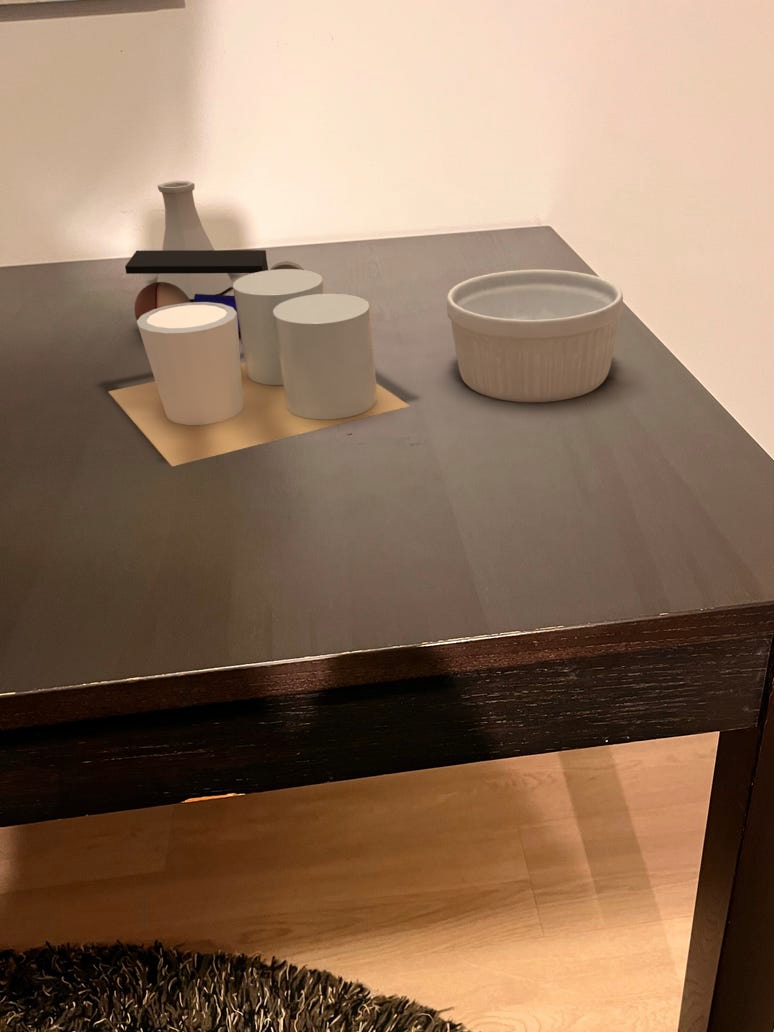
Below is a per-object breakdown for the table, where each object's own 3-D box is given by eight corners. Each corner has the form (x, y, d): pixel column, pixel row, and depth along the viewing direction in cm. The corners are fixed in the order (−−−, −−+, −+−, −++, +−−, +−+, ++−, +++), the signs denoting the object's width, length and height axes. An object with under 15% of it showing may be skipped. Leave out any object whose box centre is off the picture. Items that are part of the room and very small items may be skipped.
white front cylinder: (308, 427, 72) (295, 329, 68) (272, 397, 76) (258, 304, 72) (393, 406, 74) (386, 311, 70) (353, 378, 79) (344, 287, 75)
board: (173, 474, 67) (171, 466, 67) (109, 398, 79) (107, 391, 78) (410, 413, 75) (410, 405, 74) (321, 352, 86) (320, 345, 86)
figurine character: (309, 332, 95) (142, 325, 92) (309, 248, 90) (134, 238, 88) (309, 357, 89) (132, 350, 87) (309, 269, 85) (122, 259, 82)
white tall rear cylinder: (266, 392, 77) (252, 300, 73) (234, 366, 82) (219, 278, 78) (346, 374, 80) (337, 284, 76) (311, 349, 85) (301, 264, 81)
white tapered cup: (231, 431, 71) (214, 333, 67) (140, 426, 72) (118, 329, 68) (264, 394, 77) (250, 301, 73) (180, 390, 78) (161, 298, 74)
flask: (143, 294, 101) (120, 187, 95) (197, 276, 106) (179, 173, 100) (192, 306, 98) (172, 195, 92) (246, 286, 102) (230, 180, 97)
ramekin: (436, 360, 84) (432, 274, 80) (589, 346, 86) (593, 261, 82) (468, 423, 73) (465, 327, 69) (641, 404, 75) (648, 311, 71)
